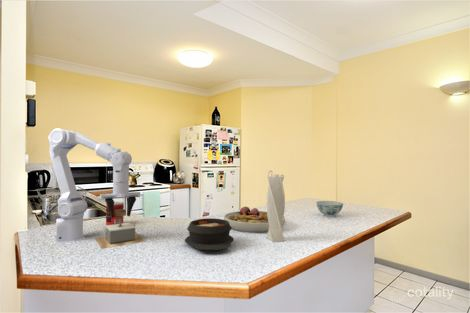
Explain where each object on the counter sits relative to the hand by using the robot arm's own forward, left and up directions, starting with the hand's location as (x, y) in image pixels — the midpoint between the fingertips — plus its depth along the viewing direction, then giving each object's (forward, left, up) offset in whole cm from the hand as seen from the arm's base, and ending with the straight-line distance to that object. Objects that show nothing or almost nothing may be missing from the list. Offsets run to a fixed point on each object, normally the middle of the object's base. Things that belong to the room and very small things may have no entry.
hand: (120, 216), depth 105 cm
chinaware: (+113, -16, -10) cm, 115 cm away
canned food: (+4, +29, -10) cm, 31 cm away
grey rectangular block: (0, 0, -9) cm, 9 cm away
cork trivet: (0, 0, -10) cm, 10 cm away
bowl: (+60, -10, -10) cm, 62 cm away
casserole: (+27, -23, -10) cm, 37 cm away
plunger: (0, 0, -6) cm, 6 cm away
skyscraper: (+52, -33, -10) cm, 62 cm away
